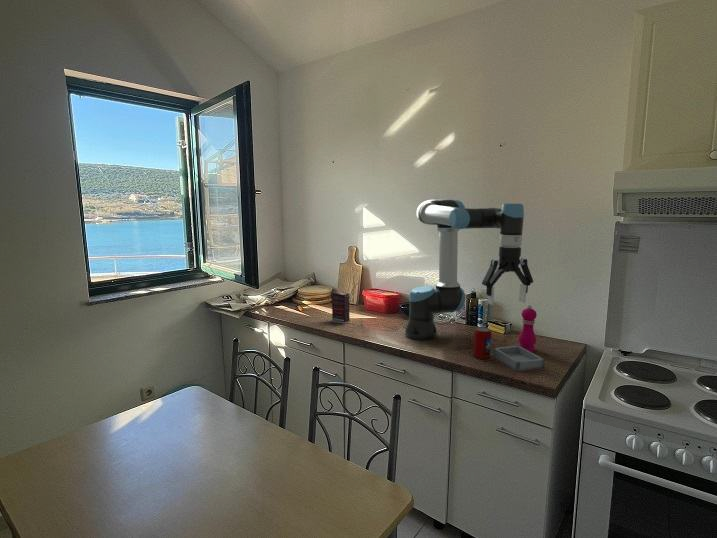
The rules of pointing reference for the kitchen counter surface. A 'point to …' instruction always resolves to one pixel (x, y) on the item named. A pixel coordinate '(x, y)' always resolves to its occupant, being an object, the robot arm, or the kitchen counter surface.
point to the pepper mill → (528, 329)
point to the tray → (518, 358)
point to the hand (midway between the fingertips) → (506, 303)
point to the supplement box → (340, 307)
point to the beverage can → (482, 342)
